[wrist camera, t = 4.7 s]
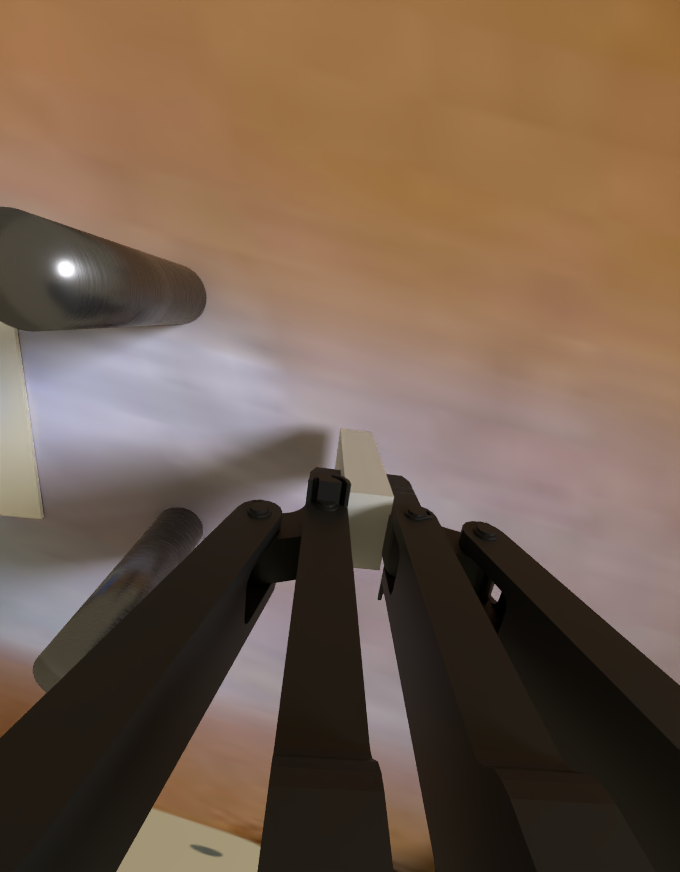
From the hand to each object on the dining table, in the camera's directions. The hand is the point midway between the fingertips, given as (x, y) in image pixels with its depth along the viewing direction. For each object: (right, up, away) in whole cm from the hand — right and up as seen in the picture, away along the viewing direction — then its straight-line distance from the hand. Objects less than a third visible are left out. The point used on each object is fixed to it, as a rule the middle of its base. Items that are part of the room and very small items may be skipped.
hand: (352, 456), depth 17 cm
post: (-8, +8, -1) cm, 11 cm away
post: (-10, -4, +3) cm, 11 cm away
